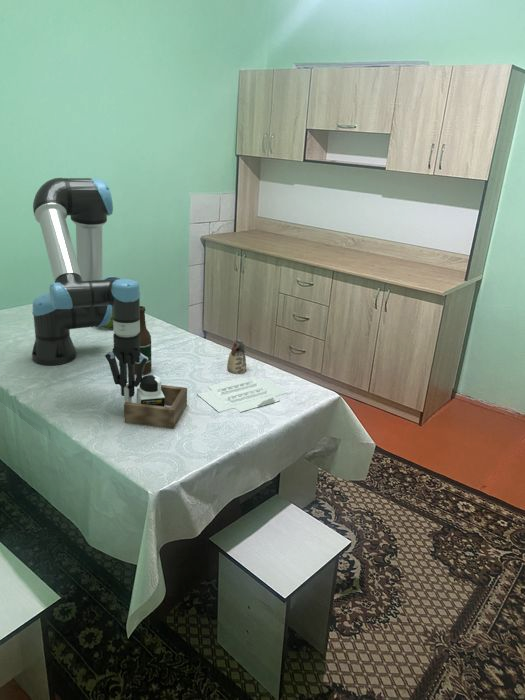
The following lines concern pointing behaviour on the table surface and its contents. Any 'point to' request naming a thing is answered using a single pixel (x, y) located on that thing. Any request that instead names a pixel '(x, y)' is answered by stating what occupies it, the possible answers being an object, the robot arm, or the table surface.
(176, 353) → the table surface
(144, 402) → the medicine bottle
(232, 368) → the figurine
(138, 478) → the table surface
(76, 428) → the table surface
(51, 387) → the table surface
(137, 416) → the box
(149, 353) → the beer bottle
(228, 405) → the tray
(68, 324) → the robot arm
